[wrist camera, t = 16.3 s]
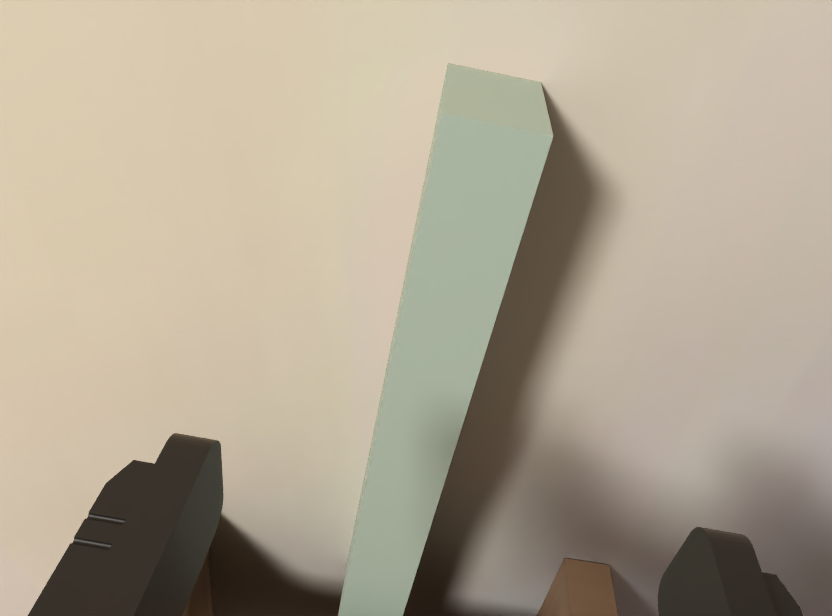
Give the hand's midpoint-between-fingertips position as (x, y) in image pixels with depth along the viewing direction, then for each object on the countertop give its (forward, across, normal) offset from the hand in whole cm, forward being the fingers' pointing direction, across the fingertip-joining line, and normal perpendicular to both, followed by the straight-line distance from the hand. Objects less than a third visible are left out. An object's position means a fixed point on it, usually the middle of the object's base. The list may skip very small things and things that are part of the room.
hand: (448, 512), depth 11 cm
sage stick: (+11, +1, +7) cm, 13 cm away
